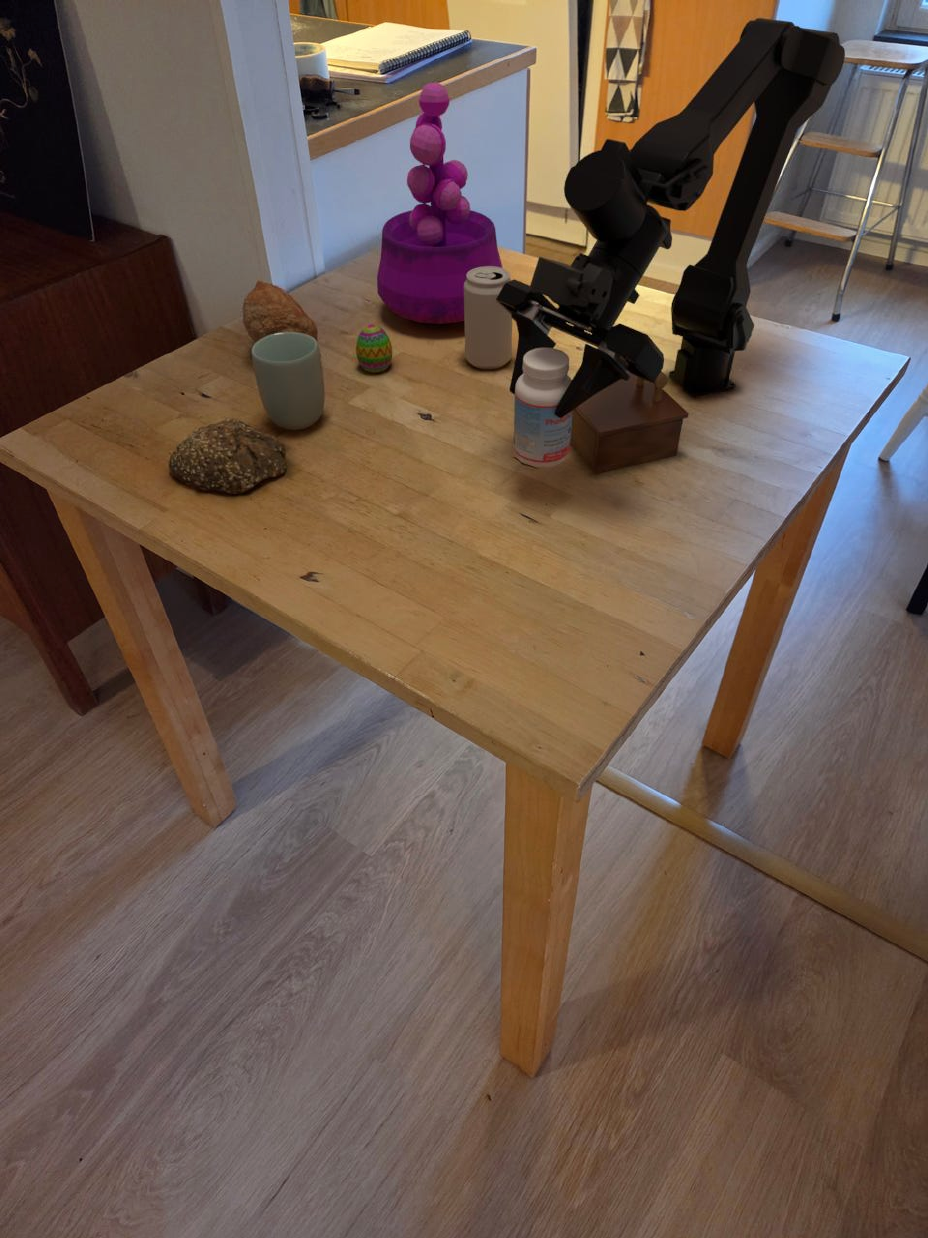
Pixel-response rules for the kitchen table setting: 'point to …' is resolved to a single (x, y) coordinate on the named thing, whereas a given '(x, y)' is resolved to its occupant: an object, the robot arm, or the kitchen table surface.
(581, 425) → the chest
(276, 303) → the crusty roll
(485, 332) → the beverage can
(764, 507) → the kitchen table surface
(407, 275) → the decorative plant
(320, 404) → the cup
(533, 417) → the pill bottle
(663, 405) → the lid
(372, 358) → the egg
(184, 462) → the bread roll
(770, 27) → the robot arm
